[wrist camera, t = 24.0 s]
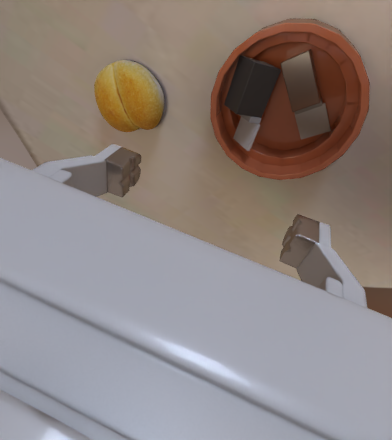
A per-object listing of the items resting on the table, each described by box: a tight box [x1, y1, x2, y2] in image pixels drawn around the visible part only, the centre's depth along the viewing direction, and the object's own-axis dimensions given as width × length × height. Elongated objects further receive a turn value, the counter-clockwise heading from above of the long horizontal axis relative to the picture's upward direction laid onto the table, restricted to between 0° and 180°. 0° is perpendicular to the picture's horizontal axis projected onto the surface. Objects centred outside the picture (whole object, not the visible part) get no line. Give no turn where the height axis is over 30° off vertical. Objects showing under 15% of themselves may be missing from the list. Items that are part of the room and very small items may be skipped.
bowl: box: [211, 19, 369, 180], centre depth 28 cm, size 14×14×5 cm
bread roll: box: [94, 60, 164, 132], centre depth 34 cm, size 8×9×4 cm
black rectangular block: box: [224, 55, 281, 151], centre depth 27 cm, size 8×3×3 cm
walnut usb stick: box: [280, 49, 331, 139], centre depth 27 cm, size 8×3×3 cm, turn 26°
